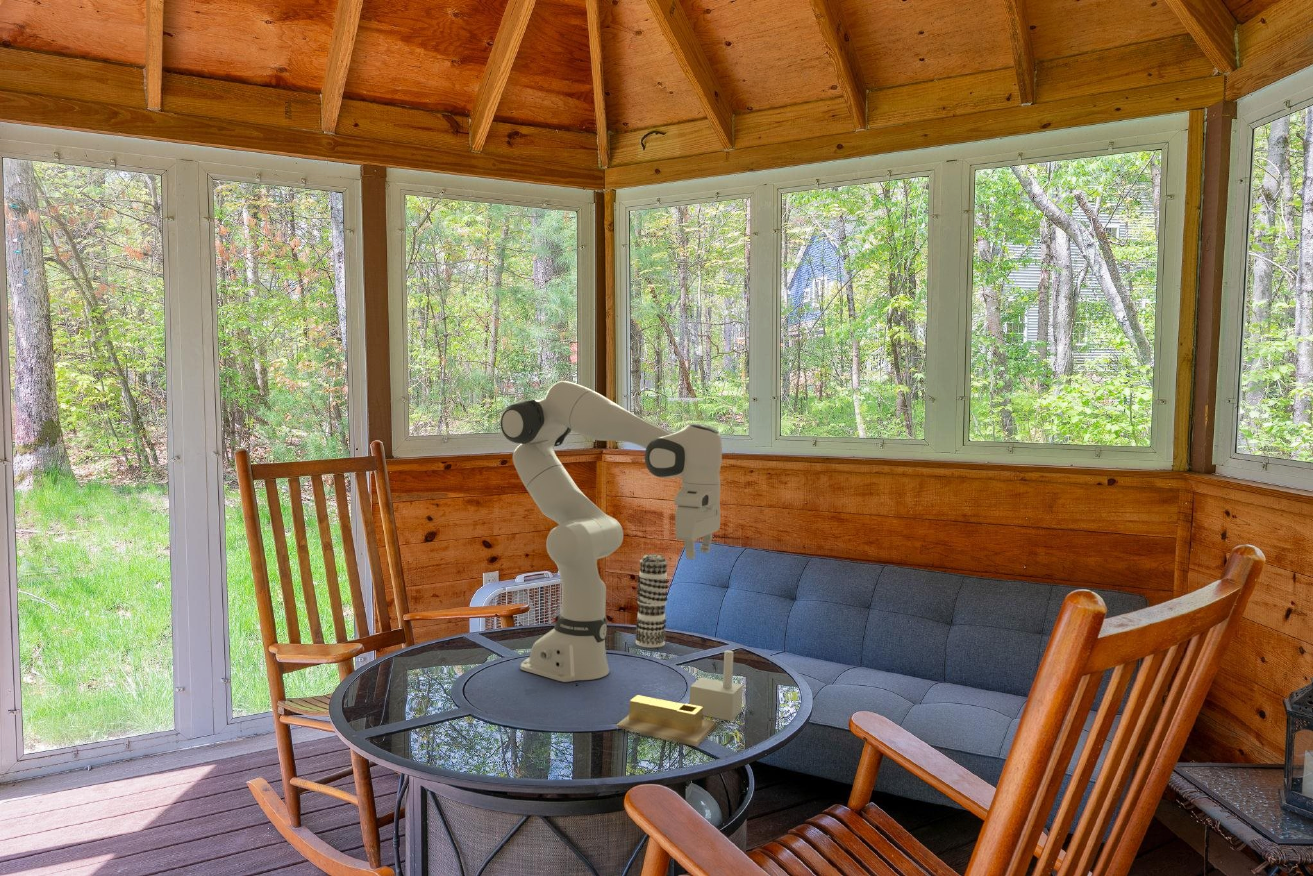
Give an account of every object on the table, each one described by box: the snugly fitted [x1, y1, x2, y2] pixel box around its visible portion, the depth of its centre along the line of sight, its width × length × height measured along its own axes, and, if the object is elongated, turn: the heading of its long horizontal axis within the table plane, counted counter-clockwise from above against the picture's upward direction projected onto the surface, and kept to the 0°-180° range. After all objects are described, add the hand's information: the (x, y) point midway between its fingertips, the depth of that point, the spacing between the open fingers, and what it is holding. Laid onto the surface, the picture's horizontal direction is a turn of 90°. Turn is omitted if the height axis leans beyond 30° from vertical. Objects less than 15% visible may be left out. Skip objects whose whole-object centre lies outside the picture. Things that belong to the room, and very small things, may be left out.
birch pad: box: [615, 714, 717, 747], centre depth 180 cm, size 18×12×1 cm, turn 67°
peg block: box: [688, 650, 744, 722], centre depth 190 cm, size 10×7×14 cm
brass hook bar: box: [628, 694, 704, 734], centre depth 180 cm, size 15×5×4 cm, turn 67°
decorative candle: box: [635, 554, 670, 648], centre depth 241 cm, size 9×9×25 cm
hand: (697, 555), depth 195 cm, fingers open, 8 cm apart
